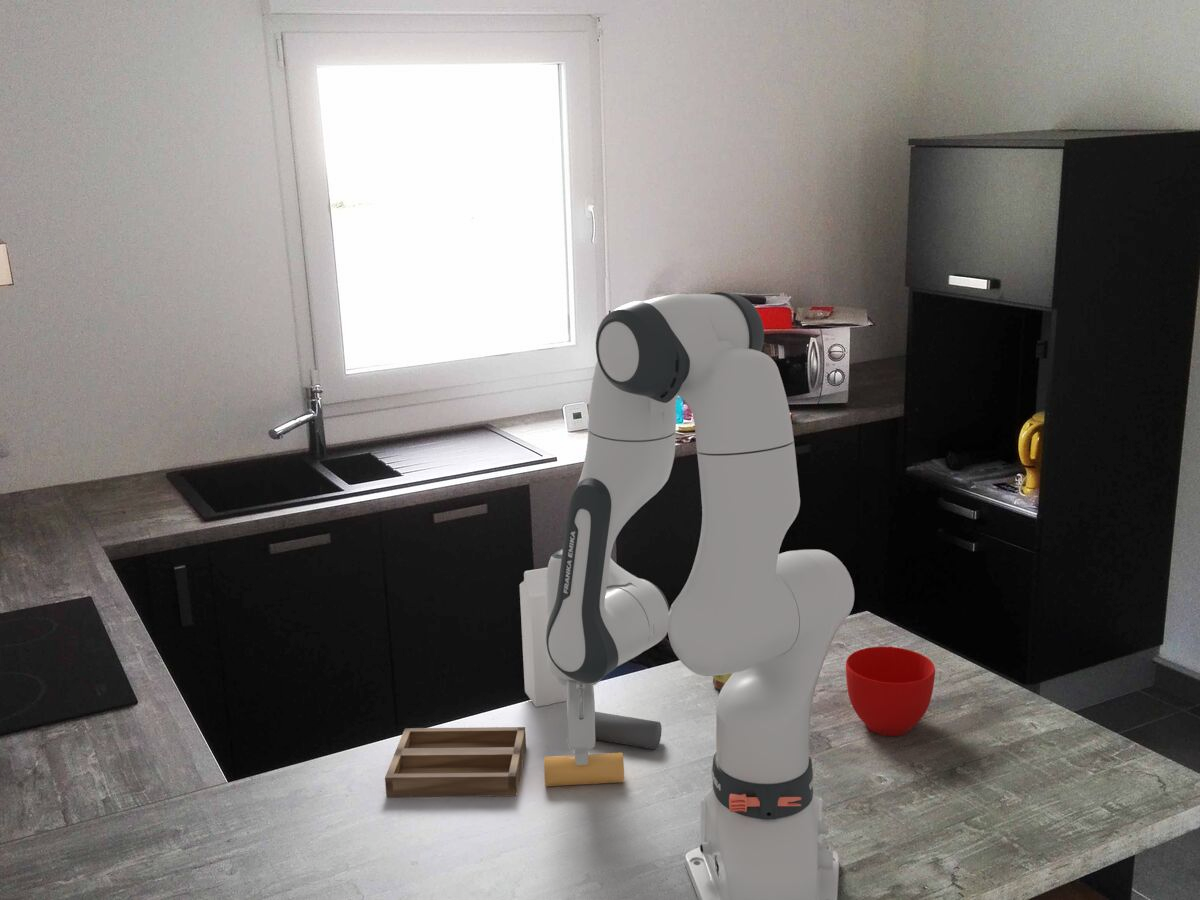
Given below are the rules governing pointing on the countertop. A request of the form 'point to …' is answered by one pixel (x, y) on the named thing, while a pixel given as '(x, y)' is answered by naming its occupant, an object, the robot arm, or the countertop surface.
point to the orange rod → (584, 770)
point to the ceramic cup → (889, 687)
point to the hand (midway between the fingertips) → (580, 744)
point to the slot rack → (457, 762)
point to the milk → (537, 641)
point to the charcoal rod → (627, 730)
